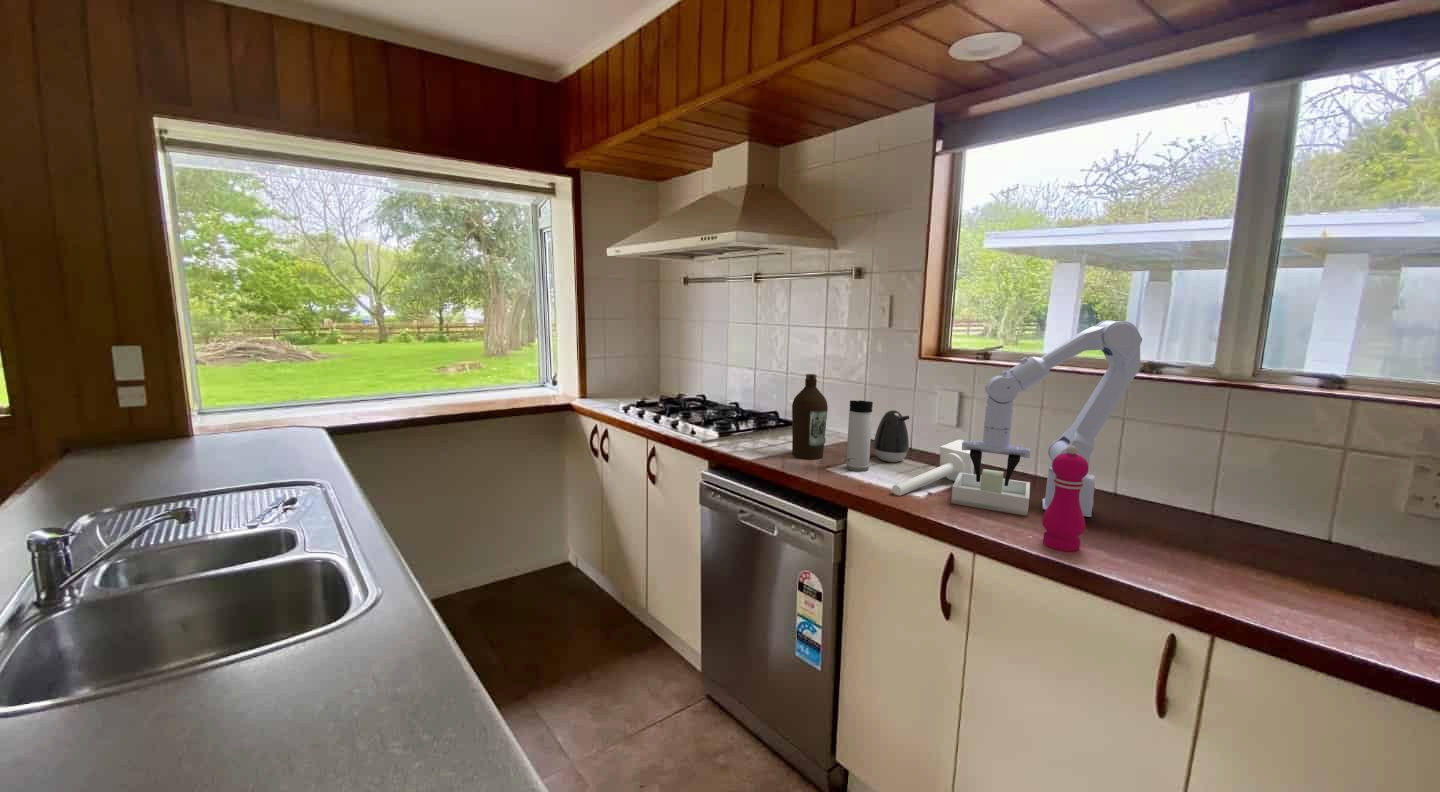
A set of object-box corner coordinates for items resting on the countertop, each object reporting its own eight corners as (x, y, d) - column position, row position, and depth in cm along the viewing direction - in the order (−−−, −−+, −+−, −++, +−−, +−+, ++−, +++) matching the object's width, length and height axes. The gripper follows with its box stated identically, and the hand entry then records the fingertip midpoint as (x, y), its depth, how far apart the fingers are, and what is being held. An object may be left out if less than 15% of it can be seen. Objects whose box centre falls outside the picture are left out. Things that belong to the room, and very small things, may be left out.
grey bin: (1028, 498, 142) (1030, 482, 141) (1027, 515, 130) (1029, 498, 129) (958, 487, 149) (959, 472, 149) (951, 503, 137) (952, 486, 136)
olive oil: (782, 454, 179) (786, 373, 175) (807, 449, 185) (811, 371, 181) (807, 462, 170) (811, 377, 166) (832, 457, 177) (836, 375, 173)
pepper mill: (1031, 540, 116) (1042, 442, 113) (1057, 536, 118) (1069, 440, 115) (1064, 555, 109) (1076, 451, 106) (1091, 550, 112) (1104, 448, 108)
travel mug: (845, 471, 162) (849, 400, 159) (846, 464, 168) (850, 396, 165) (868, 472, 161) (873, 401, 157) (868, 466, 167) (872, 398, 164)
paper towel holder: (990, 446, 154) (912, 478, 137) (989, 477, 156) (912, 513, 139) (958, 439, 162) (881, 469, 145) (958, 469, 164) (881, 501, 147)
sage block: (1001, 495, 140) (1003, 471, 139) (1000, 501, 136) (1002, 476, 135) (981, 492, 142) (983, 469, 141) (979, 497, 138) (981, 473, 137)
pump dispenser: (895, 466, 168) (899, 414, 165) (865, 458, 175) (868, 409, 173) (915, 461, 174) (919, 411, 172) (885, 454, 182) (889, 406, 179)
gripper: (962, 426, 136) (957, 482, 139) (1032, 434, 130) (1025, 492, 132) (965, 421, 143) (960, 475, 145) (1032, 428, 136) (1026, 484, 138)
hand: (992, 482), depth 139 cm, fingers open, 5 cm apart
